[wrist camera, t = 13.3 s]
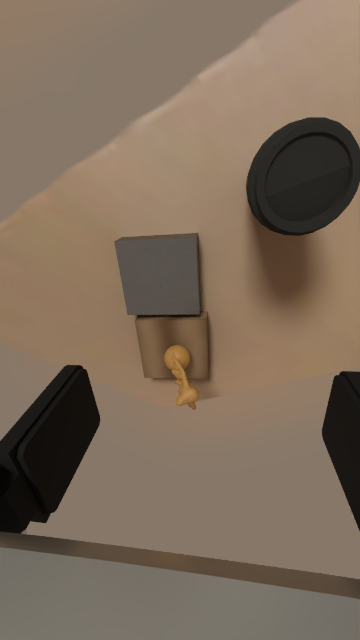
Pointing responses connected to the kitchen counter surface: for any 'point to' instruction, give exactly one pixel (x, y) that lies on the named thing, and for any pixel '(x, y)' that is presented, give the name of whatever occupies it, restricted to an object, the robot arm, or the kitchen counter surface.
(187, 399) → the figurine
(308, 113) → the kitchen counter surface
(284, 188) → the coffee cup
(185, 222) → the kitchen counter surface
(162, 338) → the walnut stand
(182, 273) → the grey metal stand
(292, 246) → the kitchen counter surface
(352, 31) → the kitchen counter surface
